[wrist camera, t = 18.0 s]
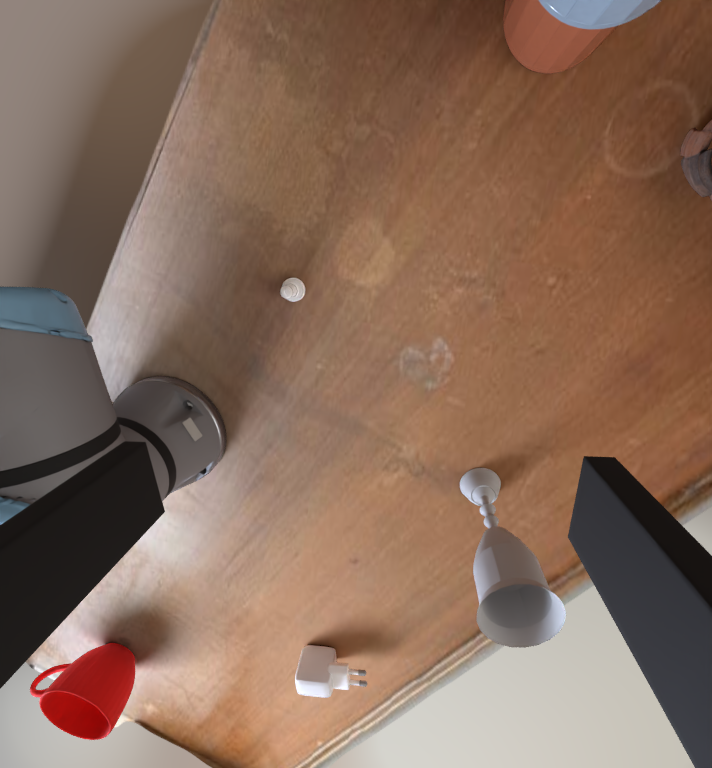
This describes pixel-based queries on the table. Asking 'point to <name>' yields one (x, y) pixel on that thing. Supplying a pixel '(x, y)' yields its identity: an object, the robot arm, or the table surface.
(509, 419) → the table surface
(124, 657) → the ceramic cup
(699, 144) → the pottery mug
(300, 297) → the chess pawn
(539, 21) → the mug
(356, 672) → the power adapter
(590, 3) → the light blue round container
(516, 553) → the chalice
